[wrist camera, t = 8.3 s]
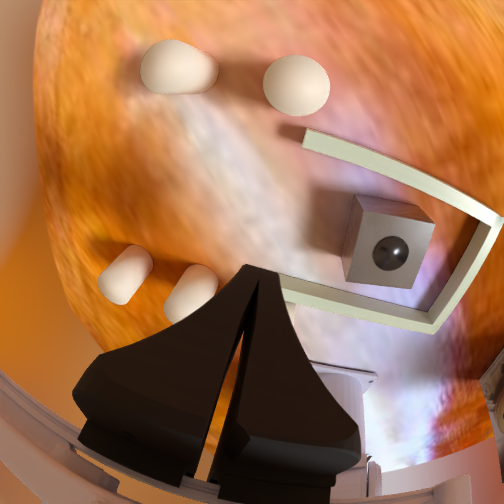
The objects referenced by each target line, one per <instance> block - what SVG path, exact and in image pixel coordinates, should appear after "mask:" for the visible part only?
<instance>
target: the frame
mask: <svg viewBox="0 0 504 504" xmlns="http://www.w3.org/2000/svg"><path fill="white" fill-rule="evenodd" d="M302 147H303V148H306V149H309V150H313V151H316V152H319V153H323V154H326V155H329V156H332V157H335V158H338V159H341V160H344V161H347V162H350V163H353V164H356V165H359V166H361V167H364V168H367V169H370V170H372V171H375V172H377V173H380V174H383V175H385V176H388V177H390V178H393V179H395V180H398V181H400V182H402V183H405V184H407V185H409V186H412V187H414V188H416V189H419V190H421V191H423V192H425V193H427V194H430V195H432V196H434V197H436V198H438V199H440V200H442V201H444V202H446V203H448V204H450V205H452V206H454V207H456V208H458V209H460V210H462V211H464V212H466V213H468V214H470V215H471V216H473V217H475V218H477V219H479V220H480V222H479V225H478V227H477V229H476V231H475V233H474V235H473V237H472V239H471V241H470V243H469V245H468V247H467V249H466V250H465V252H464V254H463V256H462V258H461V260H460V261H459V263H458V265H457V267H456V268H455V270H454V272H453V273H452V275H451V277H450V278H449V280H448V282H447V283H446V285H445V286H444V288H443V290H442V291H441V293H440V294H439V296H438V297H437V299H436V300H435V302H434V303H433V305H432V306H431V308H430V309H429V311H428V312H424V311H420V310H416V309H412V308H408V307H404V306H400V305H396V304H392V303H388V302H384V301H380V300H376V299H372V298H369V297H365V296H361V295H357V294H353V293H349V292H346V291H342V290H338V289H334V288H331V287H327V286H323V285H319V284H316V283H312V282H308V281H304V280H301V279H297V278H293V277H290V276H286V275H282V274H279V273H278V274H279V276H280V283H281V288H282V293H283V297H284V300H285V301H288V302H292V303H296V304H300V305H304V306H307V307H311V308H315V309H319V310H323V311H327V312H332V313H336V314H340V315H344V316H348V317H352V318H357V319H361V320H365V321H370V322H374V323H379V324H383V325H388V326H392V327H397V328H402V329H406V330H411V331H416V332H421V333H426V334H431V335H434V334H435V333H436V332H437V331H438V329H439V328H440V327H441V325H442V324H443V323H444V322H445V320H446V319H447V317H448V316H449V315H450V313H451V312H452V311H453V309H454V308H455V306H456V305H457V303H458V302H459V301H460V299H461V298H462V296H463V295H464V293H465V292H466V290H467V289H468V287H469V285H470V284H471V282H472V281H473V279H474V277H475V276H476V274H477V272H478V271H479V269H480V267H481V266H482V264H483V262H484V260H485V258H486V257H487V255H488V253H489V251H490V249H491V247H492V245H493V243H494V242H495V240H496V238H497V236H498V233H499V231H500V229H501V227H502V225H503V223H504V218H503V217H502V216H501V215H499V214H498V213H497V212H496V211H494V210H493V209H491V208H490V207H488V206H486V205H485V204H483V203H481V202H480V201H478V200H476V199H475V198H473V197H471V196H470V195H468V194H466V193H464V192H463V191H461V190H459V189H457V188H455V187H453V186H452V185H450V184H448V183H446V182H444V181H442V180H440V179H438V178H436V177H434V176H432V175H430V174H428V173H426V172H424V171H422V170H419V169H417V168H415V167H413V166H411V165H408V164H406V163H404V162H402V161H399V160H397V159H395V158H392V157H390V156H387V155H385V154H383V153H380V152H378V151H375V150H372V149H370V148H367V147H364V146H362V145H359V144H356V143H353V142H351V141H348V140H345V139H342V138H339V137H336V136H333V135H330V134H327V133H323V132H320V131H317V130H313V129H310V128H307V127H306V131H305V135H304V138H303V142H302Z"/></svg>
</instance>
